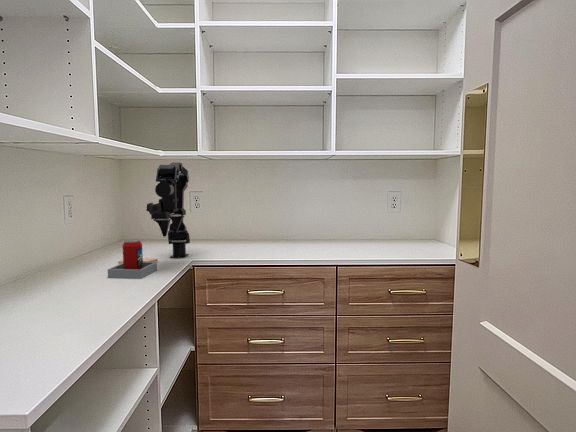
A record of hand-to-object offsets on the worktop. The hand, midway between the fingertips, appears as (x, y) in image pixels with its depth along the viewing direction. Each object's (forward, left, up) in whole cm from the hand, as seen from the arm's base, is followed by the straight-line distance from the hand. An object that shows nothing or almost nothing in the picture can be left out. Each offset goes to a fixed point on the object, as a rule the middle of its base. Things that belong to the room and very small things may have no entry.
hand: (170, 234), depth 150 cm
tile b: (-6, -13, -13) cm, 19 cm away
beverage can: (+13, -9, -13) cm, 20 cm away
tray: (+13, -9, -13) cm, 21 cm away
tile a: (-5, -21, -13) cm, 25 cm away
